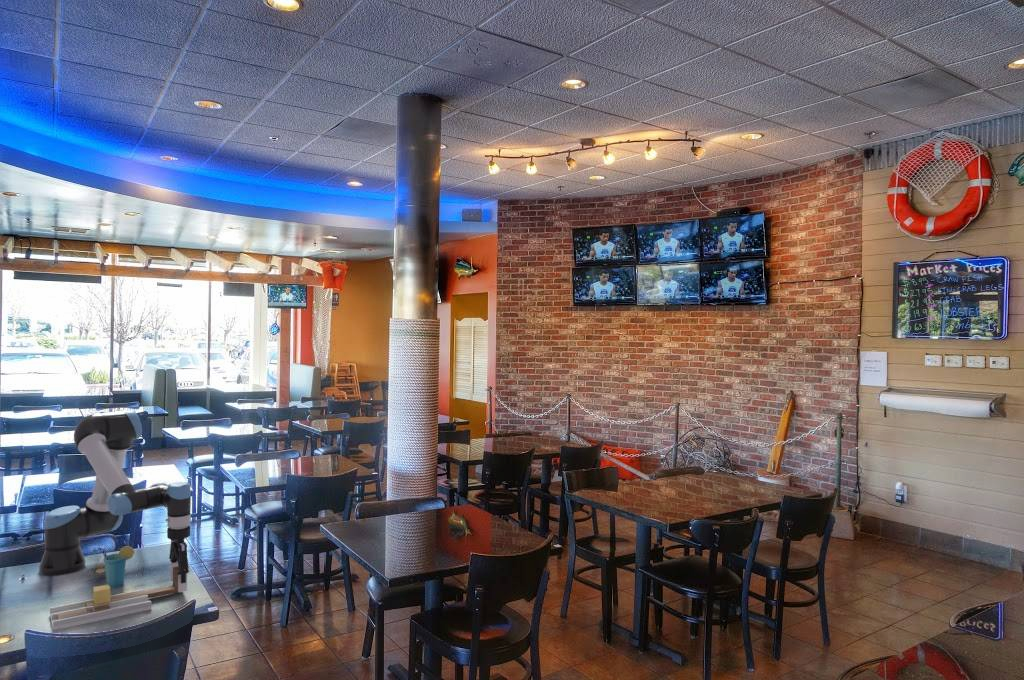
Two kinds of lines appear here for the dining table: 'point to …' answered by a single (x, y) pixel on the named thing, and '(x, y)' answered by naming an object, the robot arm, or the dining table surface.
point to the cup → (116, 565)
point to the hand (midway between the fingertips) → (178, 585)
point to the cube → (101, 594)
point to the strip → (147, 591)
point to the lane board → (115, 610)
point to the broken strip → (82, 612)
